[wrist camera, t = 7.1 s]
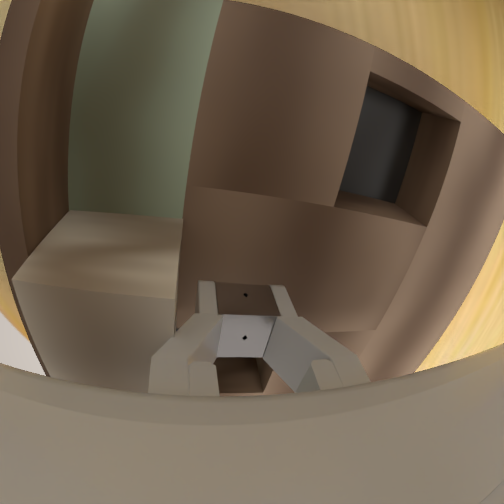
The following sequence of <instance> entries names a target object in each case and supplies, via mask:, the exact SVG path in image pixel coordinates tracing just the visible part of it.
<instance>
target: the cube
mask: <svg viewBox="0 0 504 504" xmlns="http://www.w3.org/2000/svg"><path fill="white" fill-rule="evenodd" d="M182 228H183V219H178V218H167V217H156V216H144V215H131V214H118V213H104V212H90V211H74V210H70V211H69V212H68V213H67V214H66V215H65V216H64V217H63V218H62V219H61V220H60V221H59V222H58V223H57V224H56V226H55V227H54V228H53V229H52V230H51V231H50V232H49V233H48V235H47V236H46V237H45V238H44V239H43V240H42V241H41V243H40V244H39V245H38V246H37V247H36V249H35V250H34V251H33V252H32V253H31V255H30V256H29V257H28V258H27V260H26V261H25V262H24V263H23V265H22V266H21V267H20V269H19V270H18V271H17V272H16V274H15V275H14V276H13V278H12V282H13V286H14V289H15V292H16V295H17V298H18V301H19V304H20V307H21V310H22V313H23V316H24V318H25V321H26V323H27V326H28V329H29V331H30V334H31V336H32V338H33V341H34V343H35V345H36V348H37V350H38V352H39V354H40V356H41V358H42V361H43V363H44V365H45V367H46V369H47V371H48V373H49V375H50V377H52V378H56V379H61V380H65V381H70V382H75V383H80V384H86V385H91V386H97V387H104V388H110V389H117V390H125V391H134V392H143V393H148V387H149V375H150V365H151V357H152V356H153V355H154V354H155V353H156V352H157V351H158V350H159V349H160V348H161V347H162V346H163V345H164V344H165V343H166V342H167V341H168V340H169V339H170V338H171V337H174V334H175V332H176V323H177V302H178V282H179V266H180V252H181V240H182Z"/></svg>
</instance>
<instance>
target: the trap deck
mask: <svg viewBox="0 0 504 504" xmlns="http://www.w3.org/2000/svg"><path fill="white" fill-rule="evenodd" d="M70 210H74V211H90V212H104V213H118V214H131V215H144V216H156V217H167V218H178V219H183V228H182V240H181V252H180V266H179V282H178V302H177V323H176V331H177V330H178V329H179V328H180V327H181V326H182V325H183V324H184V323H185V322H186V321H187V320H188V319H189V318H190V317H191V316H192V315H193V314H194V313H195V303H196V293H197V284H198V280H204V281H217V282H228V283H240V284H252V285H283V286H285V288H286V290H287V293H288V295H289V297H290V299H291V302H292V304H293V306H294V309H295V311H296V313H297V316H298V317H303V318H305V319H306V320H307V321H309V322H310V323H312V324H313V325H314V326H316V327H317V328H319V329H320V330H321V331H323V332H324V333H326V334H327V335H329V336H330V337H331V338H333V339H334V340H336V341H337V342H339V343H340V344H341V345H343V346H344V347H346V348H347V349H349V350H350V351H351V352H353V353H354V354H356V355H357V357H358V358H359V360H360V362H361V364H362V366H363V368H364V370H365V372H366V374H367V376H368V377H369V379H370V381H371V382H375V381H380V380H385V379H390V378H394V377H399V376H403V375H407V374H411V373H414V372H415V371H416V369H417V368H418V367H419V366H420V364H421V363H422V362H423V361H424V359H425V358H426V357H427V355H428V354H429V353H430V351H431V350H432V349H433V347H434V346H435V344H436V343H437V342H438V340H439V339H440V337H441V336H442V334H443V333H444V331H445V330H446V328H447V327H448V325H449V324H450V322H451V321H452V319H453V318H454V316H455V315H456V313H457V311H458V310H459V308H460V307H461V305H462V303H463V302H464V300H465V298H466V296H467V295H468V293H469V291H470V289H471V288H472V286H473V284H474V282H475V280H476V278H477V277H478V275H479V273H480V271H481V269H482V267H483V265H484V263H485V261H486V259H487V257H488V255H489V253H490V250H491V248H492V246H493V244H494V242H495V239H496V237H497V235H498V232H499V230H500V227H501V225H502V223H503V220H504V134H503V133H502V132H501V131H500V130H499V129H498V128H497V127H495V126H494V125H493V124H492V123H491V122H490V121H489V120H487V119H486V118H485V117H484V116H483V115H482V114H480V113H479V112H478V111H477V110H475V109H474V108H473V107H472V106H470V105H469V104H468V103H467V102H465V101H464V100H463V99H461V98H460V97H459V96H457V95H456V94H455V93H453V92H452V91H450V90H449V89H448V88H446V87H445V86H443V85H442V84H440V83H439V82H437V81H436V80H434V79H433V78H431V77H430V76H428V75H426V74H425V73H423V72H422V71H420V70H418V69H417V68H415V67H413V66H412V65H410V64H408V63H406V62H405V61H403V60H401V59H399V58H397V57H395V56H394V55H392V54H390V53H388V52H386V51H384V50H382V49H380V48H378V47H376V46H374V45H372V44H369V43H367V42H365V41H363V40H361V39H358V38H356V37H354V36H352V35H349V34H347V33H344V32H342V31H339V30H337V29H334V28H331V27H329V26H326V25H323V24H320V23H318V22H315V21H312V20H309V19H306V18H302V17H299V16H296V15H292V14H289V13H285V12H282V11H278V10H274V9H270V8H266V7H261V6H257V5H252V4H247V3H242V2H236V1H230V0H12V2H11V5H10V8H9V11H8V14H7V17H6V21H5V24H4V28H3V32H2V36H1V40H0V249H1V253H2V258H3V262H4V266H5V269H6V273H7V277H8V280H9V284H10V287H11V290H12V294H13V297H14V300H15V303H16V306H17V309H18V311H19V314H20V317H21V320H22V322H23V325H24V327H25V330H26V332H27V335H28V337H29V340H30V342H31V344H32V347H33V349H34V351H35V353H36V356H37V358H38V360H39V362H40V364H41V366H42V368H43V370H44V372H45V374H46V376H48V377H50V375H49V373H48V371H47V369H46V367H45V365H44V363H43V361H42V358H41V356H40V354H39V352H38V350H37V348H36V345H35V343H34V341H33V338H32V336H31V334H30V331H29V329H28V326H27V323H26V321H25V318H24V316H23V313H22V310H21V307H20V304H19V301H18V298H17V295H16V292H15V289H14V286H13V282H12V278H13V276H14V275H15V274H16V272H17V271H18V270H19V269H20V267H21V266H22V265H23V263H24V262H25V261H26V260H27V258H28V257H29V256H30V255H31V253H32V252H33V251H34V250H35V249H36V247H37V246H38V245H39V244H40V243H41V241H42V240H43V239H44V238H45V237H46V236H47V235H48V233H49V232H50V231H51V230H52V229H53V228H54V227H55V226H56V224H57V223H58V222H59V221H60V220H61V219H62V218H63V217H64V216H65V215H66V214H67V213H68V212H69V211H70ZM213 364H214V365H215V366H216V371H217V379H218V387H219V395H220V396H257V395H275V394H289V393H295V392H294V391H293V390H292V389H291V388H290V387H289V386H288V385H287V384H286V383H285V382H284V381H283V380H282V378H281V377H280V376H279V375H278V374H277V373H276V372H275V371H274V370H273V369H272V368H271V367H270V366H269V365H268V364H267V362H266V361H265V360H264V359H263V357H217V358H216V360H215V362H214V363H213Z"/></svg>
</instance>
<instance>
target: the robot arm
mask: <svg viewBox="0 0 504 504" xmlns="http://www.w3.org/2000/svg"><path fill="white" fill-rule="evenodd" d="M217 357H263V359H264V360H265V361H266V362H267V364H268V365H269V366H270V367H271V368H272V369H273V370H274V371H275V372H276V373H277V374H278V375H279V376H280V377H281V378H282V380H283V381H284V382H285V383H286V384H287V385H288V386H289V387H290V388H291V389H292V390H293V391H294V392H295V393H289V394H275V395H257V396H220V395H219V387H218V379H217V371H216V366H215V365H214V364H213V363H214V362H215V360H216V358H217ZM0 504H504V343H503V344H501V345H498V346H496V347H493V348H491V349H488V350H486V351H483V352H480V353H477V354H475V355H472V356H469V357H466V358H463V359H460V360H457V361H454V362H451V363H448V364H444V365H441V366H437V367H434V368H430V369H427V370H423V371H419V372H415V373H411V374H407V375H403V376H399V377H394V378H390V379H385V380H380V381H375V382H371V381H370V379H369V377H368V376H367V374H366V372H365V370H364V368H363V366H362V364H361V362H360V360H359V358H358V357H357V355H356V354H354V353H353V352H351V351H350V350H349V349H347V348H346V347H344V346H343V345H341V344H340V343H339V342H337V341H336V340H334V339H333V338H331V337H330V336H329V335H327V334H326V333H324V332H323V331H321V330H320V329H319V328H317V327H316V326H314V325H313V324H312V323H310V322H309V321H307V320H306V319H305V318H303V317H298V316H297V313H296V311H295V309H294V306H293V304H292V302H291V299H290V297H289V295H288V293H287V290H286V288H285V286H283V285H252V284H240V283H228V282H217V281H204V280H198V284H197V293H196V303H195V313H194V314H193V315H192V316H191V317H190V318H189V319H188V320H187V321H186V322H185V323H184V324H183V325H182V326H181V327H180V328H179V329H178V330H177V331H176V332H175V334H174V337H171V338H170V339H169V340H168V341H167V342H166V343H165V344H164V345H163V346H162V347H161V348H160V349H159V350H158V351H157V352H156V353H155V354H154V355H153V356H152V357H151V365H150V375H149V387H148V393H143V392H134V391H125V390H117V389H110V388H104V387H97V386H91V385H86V384H80V383H75V382H70V381H65V380H61V379H56V378H52V377H48V376H43V375H39V374H36V373H32V372H28V371H25V370H21V369H17V368H14V367H11V366H8V365H4V364H2V363H0Z"/></svg>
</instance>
